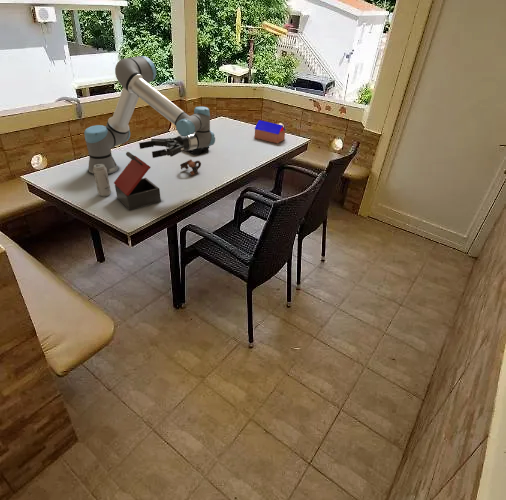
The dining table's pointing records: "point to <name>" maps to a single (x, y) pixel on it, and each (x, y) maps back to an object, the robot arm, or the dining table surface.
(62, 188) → the dining table surface
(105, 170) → the energy drink can
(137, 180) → the lid
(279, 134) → the house
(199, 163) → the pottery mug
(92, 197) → the dining table surface
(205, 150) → the egg carton
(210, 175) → the dining table surface
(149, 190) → the dark gray box
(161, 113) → the robot arm
